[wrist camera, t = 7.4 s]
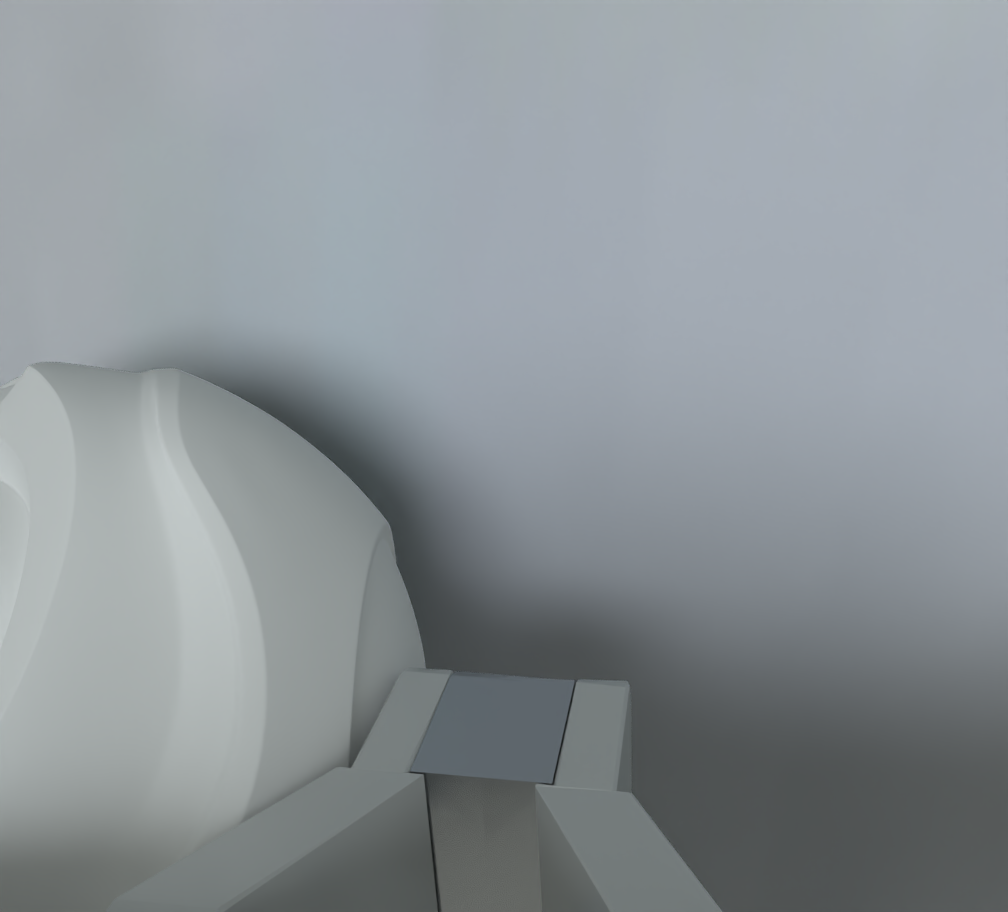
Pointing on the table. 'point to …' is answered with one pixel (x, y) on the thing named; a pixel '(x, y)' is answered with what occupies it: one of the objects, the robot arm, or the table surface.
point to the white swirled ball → (173, 625)
